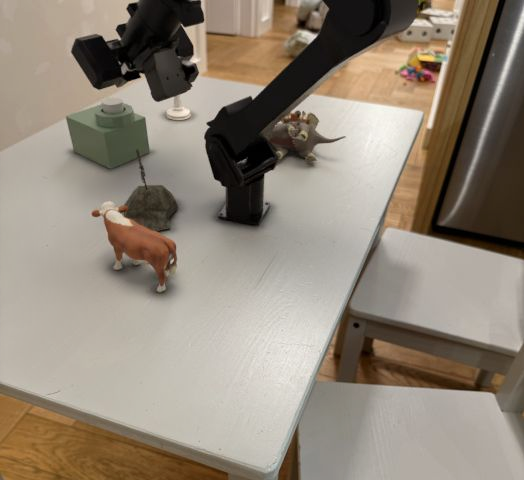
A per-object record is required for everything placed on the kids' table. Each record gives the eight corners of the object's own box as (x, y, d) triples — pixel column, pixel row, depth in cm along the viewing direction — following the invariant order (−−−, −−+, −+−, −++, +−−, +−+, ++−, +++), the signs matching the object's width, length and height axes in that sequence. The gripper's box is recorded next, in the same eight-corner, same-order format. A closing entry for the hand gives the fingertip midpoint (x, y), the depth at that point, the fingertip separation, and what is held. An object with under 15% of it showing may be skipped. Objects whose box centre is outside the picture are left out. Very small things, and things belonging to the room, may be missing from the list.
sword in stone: (130, 197, 79) (117, 119, 70) (180, 199, 79) (173, 122, 70) (116, 232, 72) (100, 150, 63) (171, 235, 72) (162, 153, 63)
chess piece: (162, 118, 101) (156, 63, 94) (172, 109, 104) (167, 56, 97) (185, 121, 100) (180, 67, 93) (194, 113, 103) (191, 59, 96)
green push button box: (152, 153, 90) (146, 107, 84) (113, 170, 85) (104, 122, 79) (113, 136, 94) (105, 91, 88) (73, 151, 89) (62, 104, 83)
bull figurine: (119, 245, 69) (109, 191, 64) (188, 285, 64) (183, 230, 58) (94, 258, 67) (80, 203, 61) (162, 301, 61) (154, 245, 56)
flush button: (128, 111, 83) (126, 100, 82) (112, 117, 81) (110, 106, 80) (115, 106, 85) (113, 95, 83) (99, 112, 83) (96, 100, 81)
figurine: (229, 130, 85) (242, 97, 97) (232, 165, 89) (243, 128, 101) (347, 132, 83) (345, 97, 95) (344, 167, 87) (342, 130, 99)
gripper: (139, 90, 63) (100, 149, 75) (235, 58, 73) (187, 115, 86) (86, 4, 60) (54, 80, 73) (194, -16, 71) (150, 53, 83)
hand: (117, 84), depth 79 cm, fingers closed
